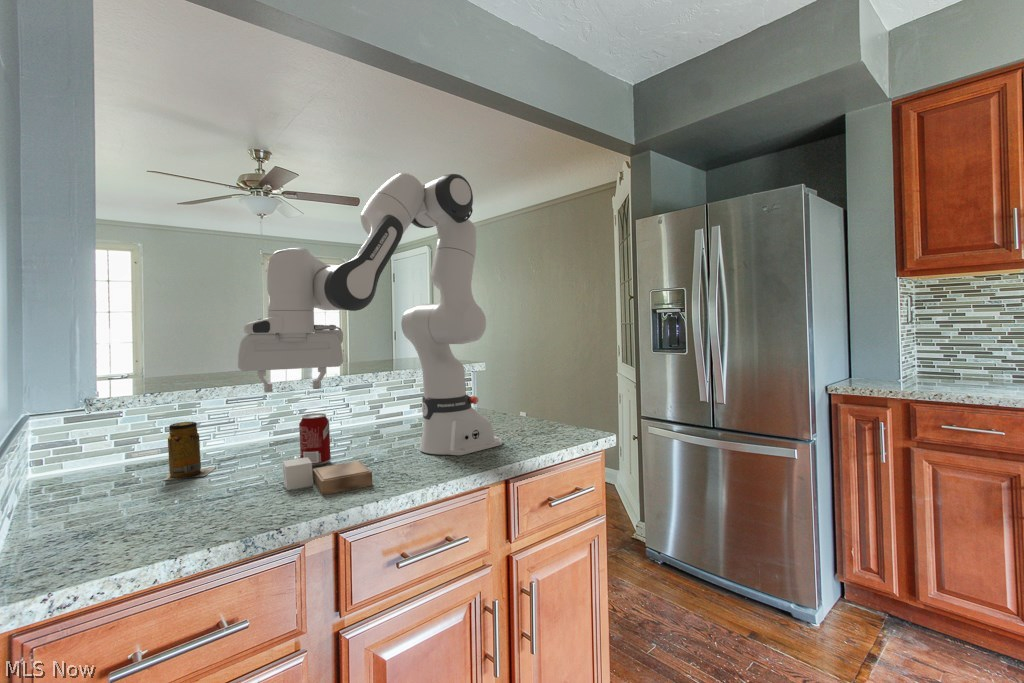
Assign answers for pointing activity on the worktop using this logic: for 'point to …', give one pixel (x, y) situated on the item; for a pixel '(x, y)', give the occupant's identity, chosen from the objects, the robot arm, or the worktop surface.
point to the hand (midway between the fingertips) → (293, 390)
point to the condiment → (184, 452)
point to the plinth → (341, 477)
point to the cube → (297, 473)
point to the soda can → (315, 438)
